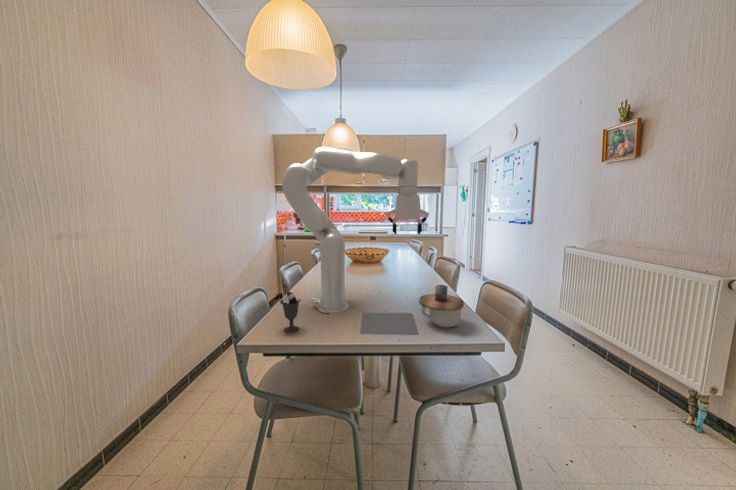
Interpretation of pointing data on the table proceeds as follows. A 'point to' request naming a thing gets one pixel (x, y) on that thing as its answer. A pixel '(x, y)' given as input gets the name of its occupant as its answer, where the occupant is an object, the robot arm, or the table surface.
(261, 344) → the table surface
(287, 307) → the sundae
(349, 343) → the table surface
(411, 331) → the mat
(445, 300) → the lid
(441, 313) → the teacup
